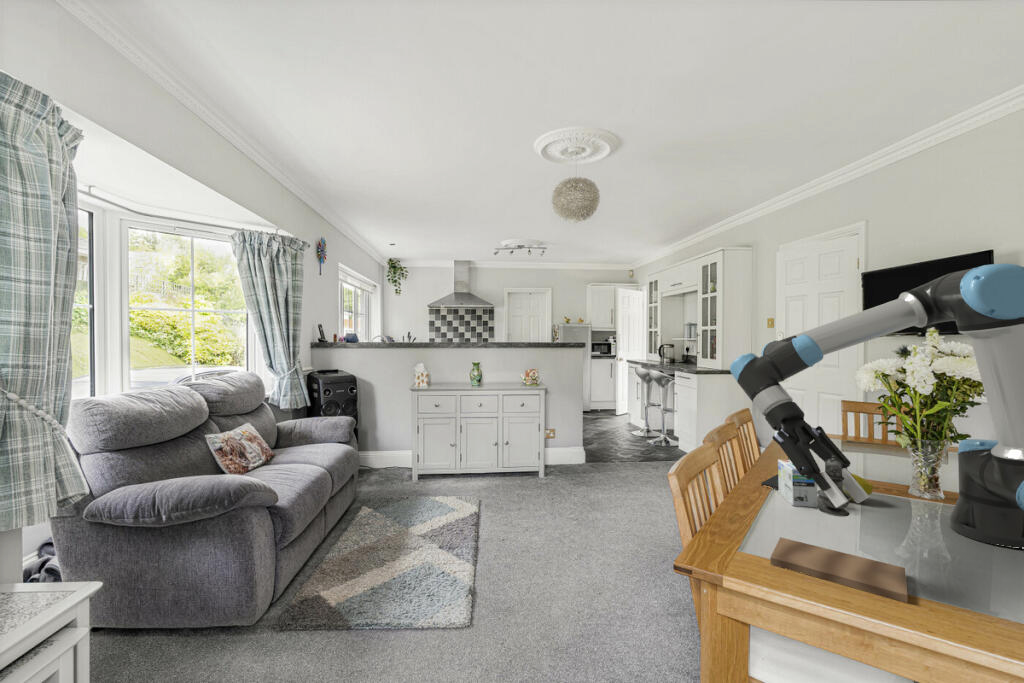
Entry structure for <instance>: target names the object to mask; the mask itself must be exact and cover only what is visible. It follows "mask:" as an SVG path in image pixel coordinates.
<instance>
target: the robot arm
mask: <svg viewBox="0 0 1024 683" xmlns="http://www.w3.org/2000/svg"><path fill="white" fill-rule="evenodd" d="M951 321H952V322H955V324H956V326H957V330H958V333H959V334H961V335H964V336H966V337H968V338H969V339H970V343H971V346H972V350H973V351H972V352H973V353H974V357H975V358H974V359H975V361H976V365H977V370H978V372H979V376H980V380H981V384H982V386H983V390H984V391H983V392H984V394H985V398H986V402H987V406H988V408H989V412H990V413H989V414H990V416H991V420H992V424H993V428H994V432H995V435H996V440H995V439H981V438H980V439H979V438H978V439H976V438H975V439H974V438H969V439H962V440H960V441H959V443H958V451H957V455H958V457H957V458H958V464H957V465H958V498H957V501H956V502H955V504H954V507H953V509H952V511H951V513H950V515H949V525H948V526H949V528H950V529H951V528H952V529H951V530H952V531H953V532H956V533H958V534H959V533H960V534H959V535H961V536H964V537H966V536H967V538H969V539H972V540H975V541H978V540H979V542H981V541H983V542H982V543H985V542H987V543H986V544H988V543H992V544H999V545H1004V546H1011V547H1019V548H1022V547H1024V266H1022V265H1018V264H1016V263H1015V264H1013V263H995V264H994V263H992V264H984V265H981V266H977V267H973V268H969V269H965V270H964V269H963V270H959V271H953V272H950V273H947V274H945V275H942V276H940V277H938V278H935V279H932V280H930V281H928V282H927V283H924V284H922V285H920V286H918V287H915V288H912V289H910V290H907V291H904V292H901V293H900V294H899V296H898V298H896V299H894V300H890V301H888V302H885V303H883V304H880V305H876V306H874V307H871V308H868V309H865V310H862V311H859V312H857V313H854V314H851V315H849V316H845V317H842V318H839V319H836V320H834V321H831V322H828V323H825V324H822V325H819V326H816V327H814V328H811V329H808V330H805V331H803V332H800V333H797V334H794V335H792V336H789V337H785V338H782V339H779V340H773V341H771V342H769V343H767V344H765V345H764V346H763V348H762V350H761V356H757V355H756V354H755V353H752V352H751V353H749V352H748V353H745V354H741V355H740V356H738V357H736V359H734V361H732V362H731V364H730V367H729V371H730V373H731V375H732V376H733V378H734V379H735V381H736V382H737V384H738V385H739V386H740V388H741V390H743V393H745V394H746V395H747V397H748V399H749V400H750V401H751V402H752V404H754V405H755V407H756V408H757V410H758V411H759V412H760V414H761V415H762V416H763V417H764V418H765V421H766V422H767V423H768V425H769V426H770V427H771V429H772V430H773V431H776V433H775V434H773V436H772V438H771V439H772V440H773V441H774V442H775V443H776V444H778V445H779V447H780V448H781V449H782V450H783V452H784V453H785V455H786V456H787V457H788V460H790V461H791V462H792V463H793V465H794V466H795V468H796V469H797V471H798V472H799V473H800V475H802V476H805V475H807V476H805V477H806V478H807V479H811V478H813V480H814V481H815V482H816V483H817V487H818V488H819V490H822V491H824V493H825V494H826V495H827V497H828V498H829V499H830V500H831V502H832V503H833V504H834V506H835V507H836V508H837V507H840V506H841V505H843V504H845V503H846V502H848V500H847V499H846V497H845V496H844V495H843V494H842V492H841V491H840V490H839V489H838V487H837V486H836V485H835V483H834V482H833V481H832V480H831V478H830V477H829V476H828V475H827V473H826V472H825V471H821V469H820V466H819V464H818V463H817V461H816V459H815V457H814V455H813V454H812V452H813V453H814V454H815V455H816V456H818V457H819V459H820V460H822V461H823V462H824V463H825V461H826V460H828V459H831V458H832V456H833V455H834V456H835V459H836V460H838V461H840V462H841V463H842V477H844V480H843V487H844V488H845V489H846V490H847V492H848V493H849V494H850V495H851V497H852V498H853V499H854V500H855V503H856V504H860V503H861V502H863V501H865V500H867V499H868V498H870V496H869V495H868V494H867V493H866V492H865V491H864V490H863V488H862V487H861V486H860V485H859V484H858V482H857V481H856V479H855V478H854V477H853V476H852V474H853V473H852V474H851V472H850V471H849V469H848V468H849V467H850V466H851V460H849V459H848V458H847V456H845V454H844V453H843V452H842V451H841V449H840V448H839V447H838V446H837V445H836V444H835V443H834V441H833V440H831V439H830V437H829V436H828V435H827V434H826V431H825V430H824V428H823V427H822V426H820V425H818V426H816V427H812V426H811V425H810V424H809V423H807V422H806V421H805V413H804V411H803V410H802V408H801V407H800V406H799V405H798V404H797V403H796V402H795V401H793V400H794V399H793V397H792V396H791V395H790V394H789V393H788V392H787V391H786V389H784V387H783V386H782V385H781V384H780V383H781V382H784V380H787V379H789V378H791V377H793V376H795V375H797V374H799V373H800V372H803V371H804V370H807V369H808V368H810V367H811V368H812V367H813V366H815V365H817V363H819V362H821V361H822V360H824V356H825V355H828V354H832V353H834V352H837V351H841V350H844V349H847V348H850V347H853V346H856V345H859V344H861V343H865V342H868V341H872V340H874V339H878V338H880V337H884V336H886V335H890V334H892V333H896V332H898V331H899V332H900V331H902V330H904V329H907V328H908V329H909V328H910V327H917V328H924V327H926V326H930V325H933V324H934V325H935V324H938V323H939V324H940V323H945V322H951ZM811 451H812V452H811ZM802 467H804V468H802ZM992 544H991V545H992Z"/></svg>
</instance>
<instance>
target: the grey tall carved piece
mask: <svg viewBox="0 0 1024 683" xmlns="http://www.w3.org/2000/svg"><path fill="white" fill-rule="evenodd" d="M824 464H825V465H824V466H825V467H824V472H826V473H827V475H828V476H829V477H830V478H831V480H832V481H833V482H834V483H835V485H836V486H837V487H838V489H839V490H840V491H841V492H842V494H843V495H844V496H845V497H846V499H847V500H848V502H846V503H845V504H843V505H841V506H840V507H837V508H836V507H835V506H834V504H833V503H832V502H831V500H830V499H829V498H828V497H827V495H826V494H825V493H824V491H822V490H821V489H819V490H818V489H817V496H818V499H819V500H820V503H822V505H820V506H818V510H819V512H822V513H823V514H826V515H829V516H834V517H840V518H841V517H845V518H846V517H848V516H850V511H848V510H847V509H845V508H846V507H848V505H849V504H850V501H849V500H851V496H849V495H848V494H846V493H844V491H843V480H844V477H842V463H841V462H840V461H838V460H836V459H835V456H834V455H833V456H832V458H831V459H828V460H826V461H825V462H824Z"/></svg>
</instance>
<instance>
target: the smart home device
mask: <svg viewBox="0 0 1024 683" xmlns="http://www.w3.org/2000/svg"><path fill="white" fill-rule="evenodd" d="M762 485H766V486H770V487H772V488H773V489H772V490H774V489H775V490H774V491H778V490H779V481H778V473H777V474H775V475H774V476H771V477H769V478H768V479H765V480H763V481H761V486H762Z"/></svg>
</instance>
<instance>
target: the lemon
mask: <svg viewBox="0 0 1024 683" xmlns="http://www.w3.org/2000/svg"><path fill="white" fill-rule="evenodd" d="M850 473H851V472H850ZM851 474H852V476H853V477H854V478H855V479H856V481H857V482H858V484H859V485H860V486H861V487H862V488H863V490H864V491H865V492H866V493H867V494H868V496H869V495H872V494H873V489H874V485H873V484H872V483H870V482H869V481H867V480H866V479H864V478H863V477H862V476H860V475H857V474H855V473H851ZM843 491H844V493H846V494H848V495H849V496H851V495H850V494H849V493H848V492H847V490H846V489H845V488H844V487H843ZM850 501H851V502H853V501H855V500H854V499H853V498H852V497H851V500H849V502H850Z"/></svg>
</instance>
